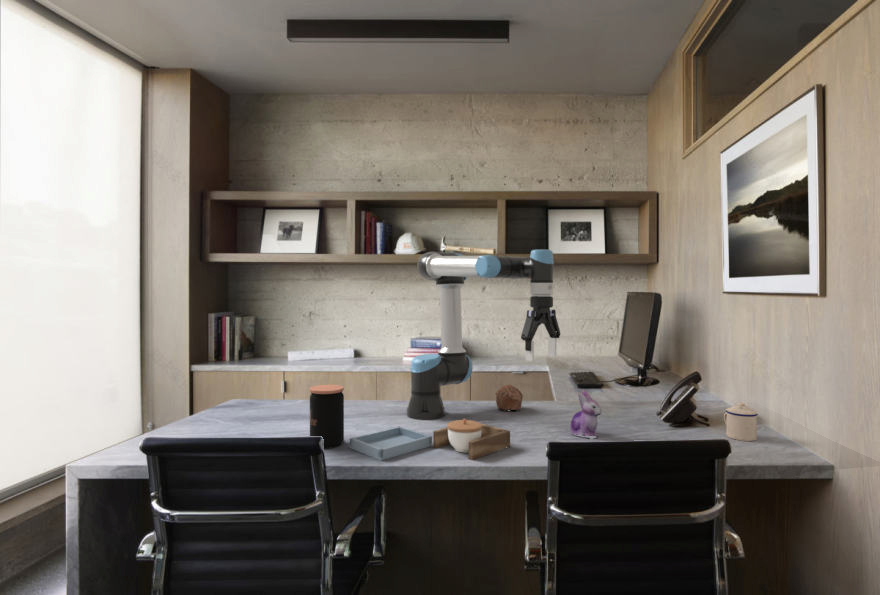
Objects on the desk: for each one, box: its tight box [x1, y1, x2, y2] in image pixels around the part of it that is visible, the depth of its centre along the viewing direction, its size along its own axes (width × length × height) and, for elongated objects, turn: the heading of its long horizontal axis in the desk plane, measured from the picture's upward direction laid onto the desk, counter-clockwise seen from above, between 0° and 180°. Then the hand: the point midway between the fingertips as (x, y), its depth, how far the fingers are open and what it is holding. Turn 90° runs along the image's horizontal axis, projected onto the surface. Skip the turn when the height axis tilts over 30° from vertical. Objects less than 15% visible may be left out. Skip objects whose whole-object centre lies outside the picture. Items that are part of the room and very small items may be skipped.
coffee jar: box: [309, 384, 345, 449], centre depth 159 cm, size 11×11×18 cm
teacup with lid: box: [723, 401, 758, 442], centre depth 168 cm, size 12×9×12 cm
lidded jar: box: [446, 418, 483, 453], centre depth 154 cm, size 11×11×9 cm
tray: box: [349, 425, 433, 461], centre depth 156 cm, size 16×20×3 cm
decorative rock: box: [495, 383, 524, 411], centre depth 206 cm, size 13×11×10 cm
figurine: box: [570, 389, 603, 436], centre depth 169 cm, size 9×10×15 cm
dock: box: [432, 423, 511, 461], centre depth 156 cm, size 16×18×5 cm
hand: (541, 358), depth 168 cm, fingers open, 13 cm apart
